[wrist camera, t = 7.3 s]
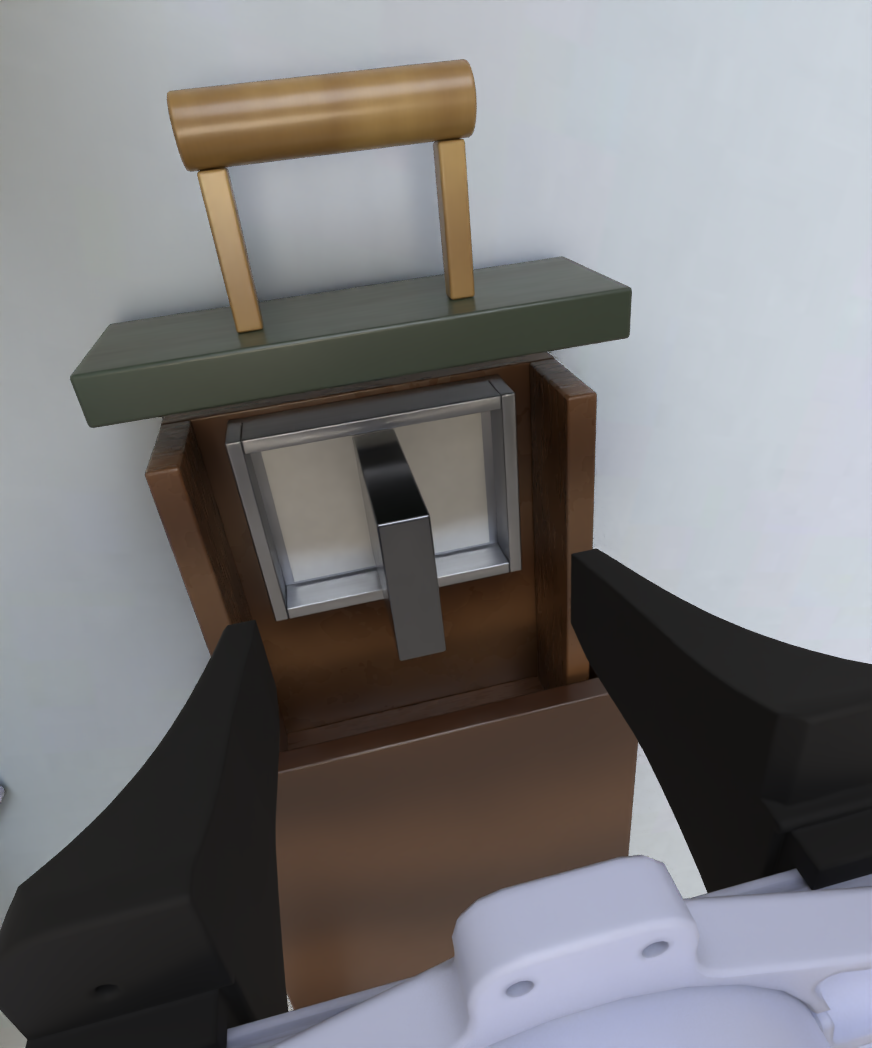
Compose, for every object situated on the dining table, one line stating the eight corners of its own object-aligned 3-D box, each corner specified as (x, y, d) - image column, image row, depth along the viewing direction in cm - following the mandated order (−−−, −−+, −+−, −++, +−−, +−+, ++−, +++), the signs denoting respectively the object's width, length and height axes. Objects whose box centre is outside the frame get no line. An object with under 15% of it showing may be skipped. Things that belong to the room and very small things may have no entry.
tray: (226, 420, 18) (214, 518, 14) (498, 373, 19) (569, 451, 15) (275, 590, 21) (277, 718, 17) (507, 543, 22) (568, 651, 18)
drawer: (33, 111, 15) (-40, 109, 12) (564, 53, 17) (646, 35, 13) (251, 734, 26) (249, 835, 22) (563, 662, 27) (609, 745, 24)
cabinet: (211, 651, 25) (197, 792, 19) (570, 575, 26) (644, 685, 21) (303, 906, 33) (310, 1050, 28) (568, 836, 35) (620, 959, 30)
